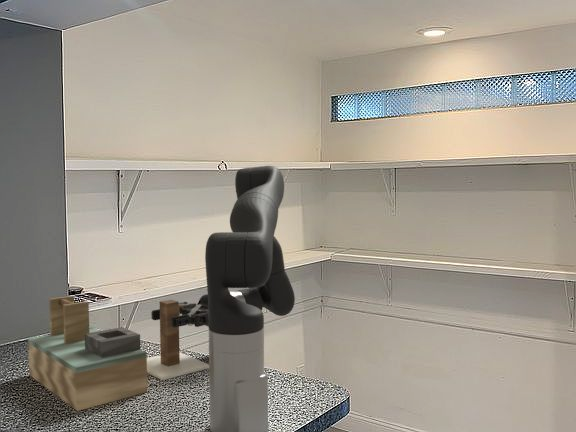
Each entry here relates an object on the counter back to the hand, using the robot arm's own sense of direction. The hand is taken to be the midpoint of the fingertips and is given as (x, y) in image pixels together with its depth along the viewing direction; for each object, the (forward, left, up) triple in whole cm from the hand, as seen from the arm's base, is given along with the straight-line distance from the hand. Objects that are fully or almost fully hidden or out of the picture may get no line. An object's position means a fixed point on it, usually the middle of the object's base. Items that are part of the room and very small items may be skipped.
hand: (161, 319), depth 131 cm
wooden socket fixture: (+2, +17, -11) cm, 20 cm away
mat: (0, -2, -11) cm, 11 cm away
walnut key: (0, -2, -10) cm, 11 cm away
